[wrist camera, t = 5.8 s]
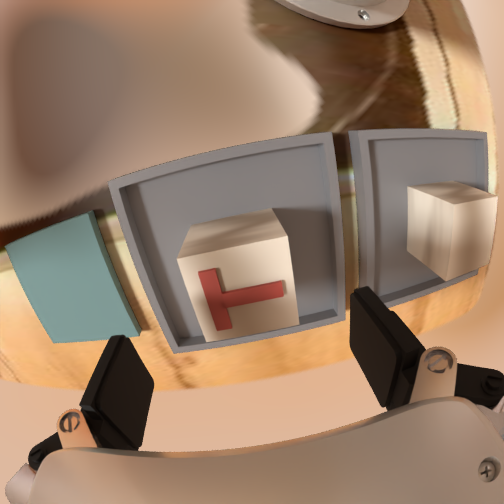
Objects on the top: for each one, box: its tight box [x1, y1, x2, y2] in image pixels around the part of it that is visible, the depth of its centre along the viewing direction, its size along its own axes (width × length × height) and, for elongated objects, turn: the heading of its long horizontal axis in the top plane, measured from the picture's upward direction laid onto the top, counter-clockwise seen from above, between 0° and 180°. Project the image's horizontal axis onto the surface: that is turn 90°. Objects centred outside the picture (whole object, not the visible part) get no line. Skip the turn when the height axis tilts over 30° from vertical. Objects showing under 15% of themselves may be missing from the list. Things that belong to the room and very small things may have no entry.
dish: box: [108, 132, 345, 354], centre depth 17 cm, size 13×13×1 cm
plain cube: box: [407, 181, 498, 281], centre depth 15 cm, size 5×5×5 cm
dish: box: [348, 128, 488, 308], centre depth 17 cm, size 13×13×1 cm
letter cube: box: [177, 208, 299, 342], centre depth 15 cm, size 5×5×5 cm
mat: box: [5, 210, 142, 343], centre depth 17 cm, size 10×10×1 cm
